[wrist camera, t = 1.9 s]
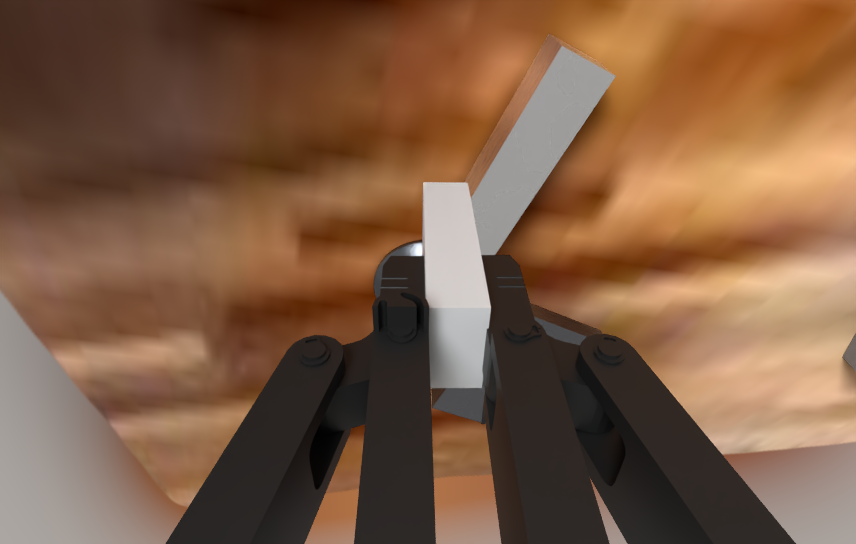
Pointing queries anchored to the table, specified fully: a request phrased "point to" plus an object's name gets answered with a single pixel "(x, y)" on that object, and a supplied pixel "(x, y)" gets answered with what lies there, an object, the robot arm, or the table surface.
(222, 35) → the table surface
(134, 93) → the table surface
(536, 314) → the keeper bracket
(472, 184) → the link
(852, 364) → the figurine corral
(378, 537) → the robot arm
